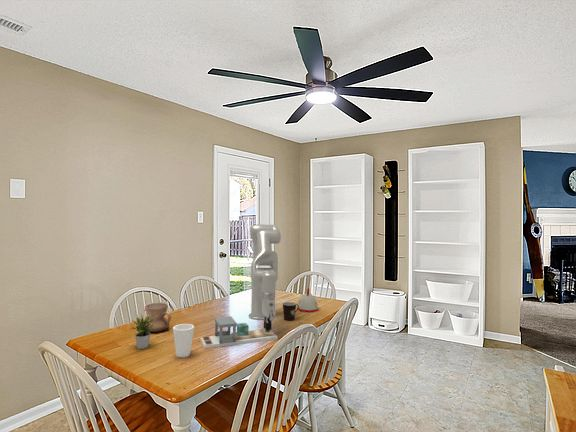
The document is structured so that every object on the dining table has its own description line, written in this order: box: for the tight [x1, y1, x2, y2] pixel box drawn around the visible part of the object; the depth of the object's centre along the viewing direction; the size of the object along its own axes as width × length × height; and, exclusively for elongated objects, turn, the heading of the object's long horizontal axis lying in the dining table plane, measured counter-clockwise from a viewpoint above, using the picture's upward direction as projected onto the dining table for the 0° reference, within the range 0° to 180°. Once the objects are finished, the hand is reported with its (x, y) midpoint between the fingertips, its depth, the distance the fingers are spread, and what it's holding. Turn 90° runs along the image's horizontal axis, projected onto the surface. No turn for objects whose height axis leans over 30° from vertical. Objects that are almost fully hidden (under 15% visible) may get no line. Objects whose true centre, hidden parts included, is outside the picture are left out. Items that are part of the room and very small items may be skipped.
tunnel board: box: [200, 315, 279, 350], centre depth 184 cm, size 38×13×11 cm, turn 113°
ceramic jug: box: [143, 301, 172, 333], centre depth 196 cm, size 18×14×14 cm
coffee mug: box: [282, 301, 299, 322], centre depth 222 cm, size 12×9×10 cm
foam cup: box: [172, 323, 195, 358], centre depth 163 cm, size 10×9×13 cm
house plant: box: [128, 313, 158, 350], centre depth 170 cm, size 14×14×16 cm
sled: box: [230, 318, 274, 340], centre depth 187 cm, size 21×8×8 cm, turn 113°
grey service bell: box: [297, 287, 319, 314], centre depth 245 cm, size 14×14×15 cm
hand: (267, 328), depth 190 cm, fingers closed on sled, 2 cm apart
